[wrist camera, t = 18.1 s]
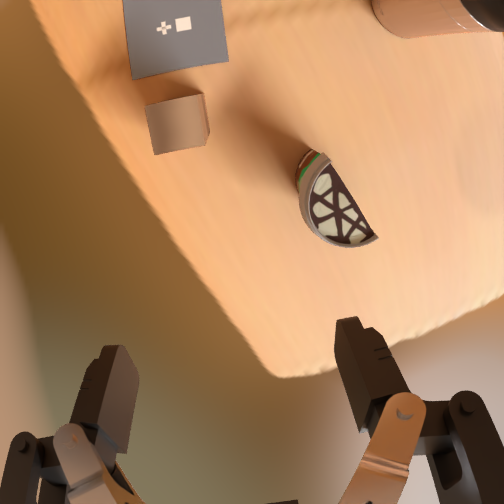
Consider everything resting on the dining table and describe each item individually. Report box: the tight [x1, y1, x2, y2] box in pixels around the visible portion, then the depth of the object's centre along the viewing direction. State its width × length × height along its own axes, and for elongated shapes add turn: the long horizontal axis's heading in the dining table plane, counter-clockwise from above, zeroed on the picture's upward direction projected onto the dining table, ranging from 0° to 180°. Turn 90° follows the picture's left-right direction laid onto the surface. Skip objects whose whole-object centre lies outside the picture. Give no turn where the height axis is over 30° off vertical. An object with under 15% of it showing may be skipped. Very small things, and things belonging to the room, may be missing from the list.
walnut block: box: [145, 93, 210, 155], centre depth 31 cm, size 5×5×10 cm
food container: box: [296, 149, 379, 248], centre depth 38 cm, size 12×6×10 cm, turn 37°
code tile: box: [123, 0, 229, 80], centre depth 30 cm, size 12×12×1 cm
